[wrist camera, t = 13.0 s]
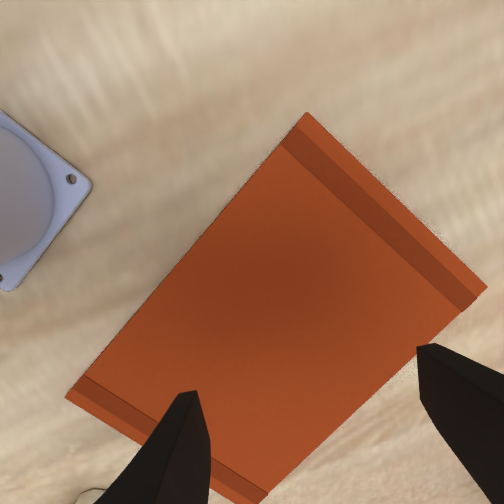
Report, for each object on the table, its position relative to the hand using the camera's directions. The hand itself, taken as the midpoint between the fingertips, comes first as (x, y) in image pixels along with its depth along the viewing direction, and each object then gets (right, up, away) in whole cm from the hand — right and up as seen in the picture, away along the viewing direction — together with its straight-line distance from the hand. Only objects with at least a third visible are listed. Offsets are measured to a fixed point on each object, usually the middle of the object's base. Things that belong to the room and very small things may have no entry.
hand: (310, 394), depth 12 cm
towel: (-1, -1, +11) cm, 11 cm away
